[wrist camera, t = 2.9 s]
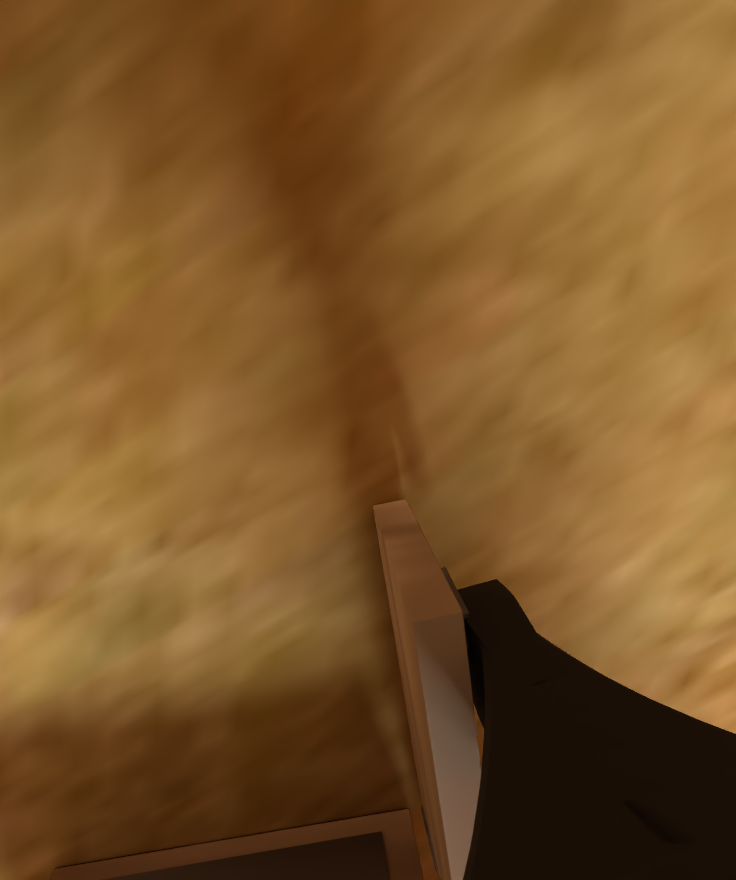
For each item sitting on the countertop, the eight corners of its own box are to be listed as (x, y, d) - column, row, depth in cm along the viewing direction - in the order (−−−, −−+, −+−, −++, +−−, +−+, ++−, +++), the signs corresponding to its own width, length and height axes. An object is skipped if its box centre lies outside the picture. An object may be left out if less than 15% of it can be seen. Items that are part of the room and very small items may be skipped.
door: (422, 818, 16) (471, 1025, 11) (370, 505, 13) (409, 623, 8) (460, 808, 16) (523, 1011, 11) (417, 496, 13) (480, 607, 8)
